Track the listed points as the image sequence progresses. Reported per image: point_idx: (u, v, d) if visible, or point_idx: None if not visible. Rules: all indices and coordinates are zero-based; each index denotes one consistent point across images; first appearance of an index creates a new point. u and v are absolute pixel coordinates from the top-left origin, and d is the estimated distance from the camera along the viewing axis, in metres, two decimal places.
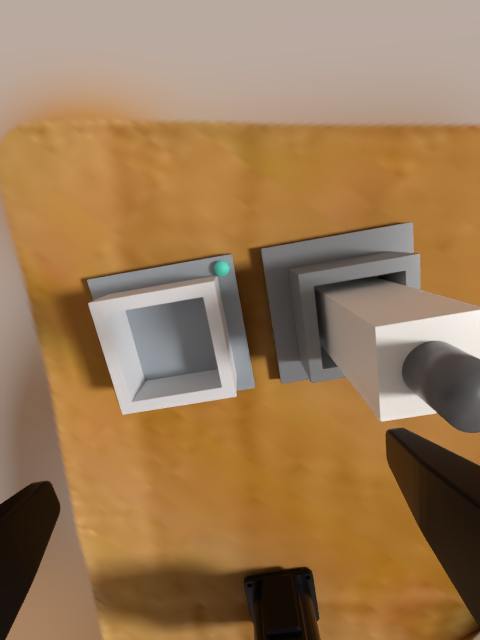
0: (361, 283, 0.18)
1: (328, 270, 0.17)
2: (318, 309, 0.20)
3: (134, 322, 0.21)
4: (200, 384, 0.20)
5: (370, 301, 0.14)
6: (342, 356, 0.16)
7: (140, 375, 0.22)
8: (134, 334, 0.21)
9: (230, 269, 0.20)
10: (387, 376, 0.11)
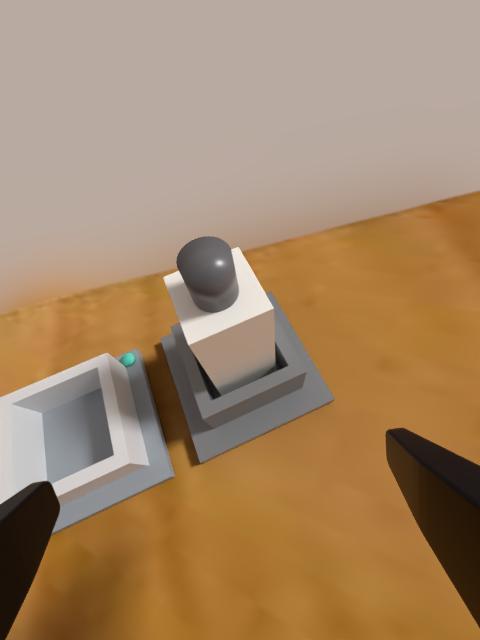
0: None
1: None
2: None
3: (48, 429, 0.22)
4: None
5: None
6: None
7: None
8: (46, 443, 0.21)
9: (136, 359, 0.24)
10: (182, 306, 0.14)
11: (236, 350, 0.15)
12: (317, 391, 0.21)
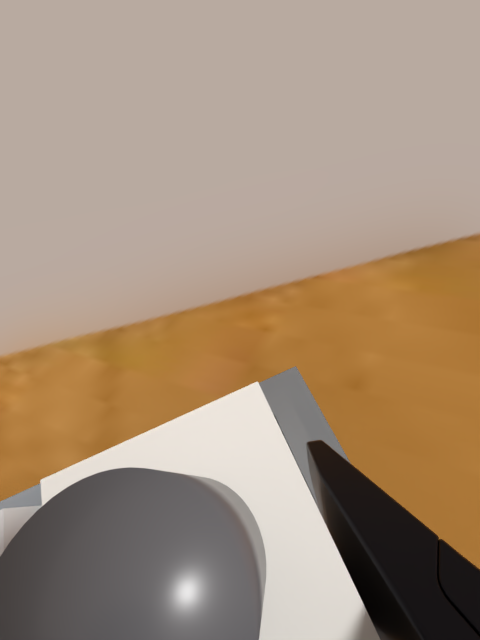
0: None
1: None
2: None
3: None
4: None
5: None
6: None
7: None
8: None
9: None
10: None
11: None
12: None
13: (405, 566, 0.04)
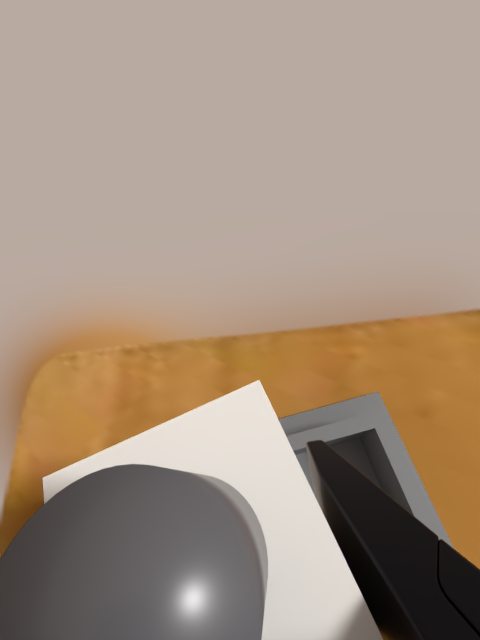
0: None
1: (294, 434, 0.17)
2: None
3: None
4: None
5: None
6: None
7: None
8: None
9: None
10: None
11: None
12: None
13: (406, 566, 0.04)
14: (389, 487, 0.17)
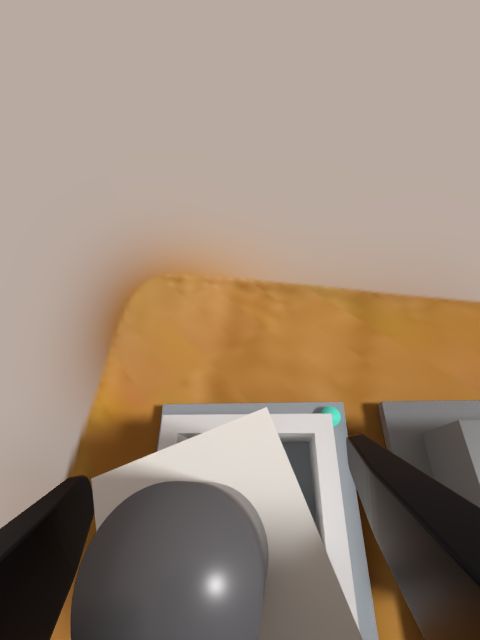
0: None
1: None
2: None
3: None
4: None
5: None
6: None
7: None
8: None
9: (340, 421, 0.16)
10: None
11: None
12: None
13: None
14: None
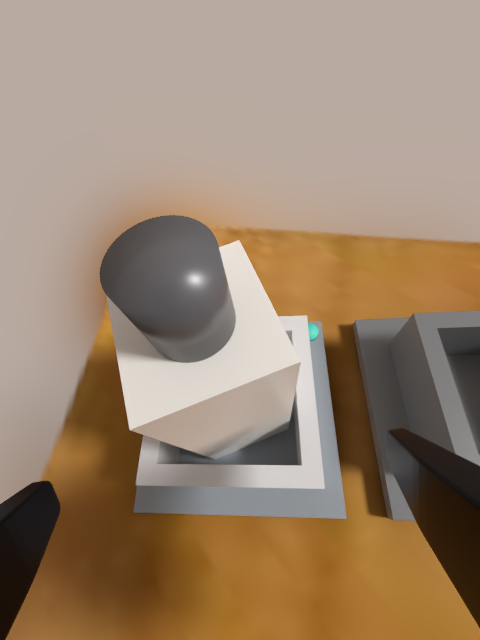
0: None
1: (453, 312, 0.14)
2: None
3: None
4: None
5: None
6: None
7: (176, 450, 0.15)
8: None
9: (318, 336, 0.18)
10: (130, 347, 0.07)
11: (228, 417, 0.09)
12: None
13: None
14: None
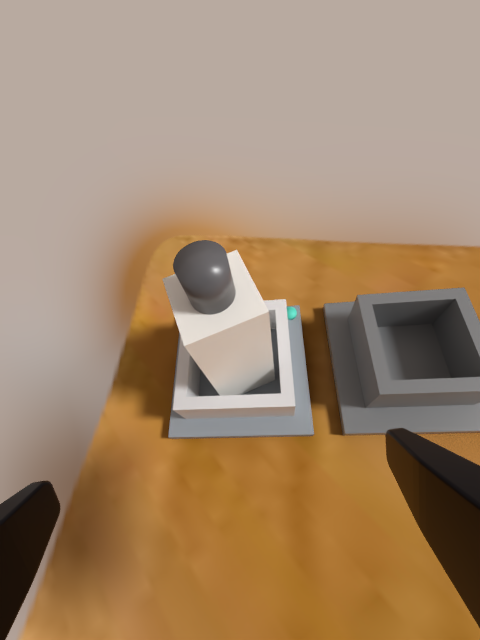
0: None
1: (383, 293, 0.20)
2: None
3: None
4: None
5: None
6: None
7: (196, 395, 0.22)
8: None
9: (297, 316, 0.24)
10: (179, 308, 0.14)
11: (232, 351, 0.15)
12: None
13: None
14: (456, 351, 0.20)
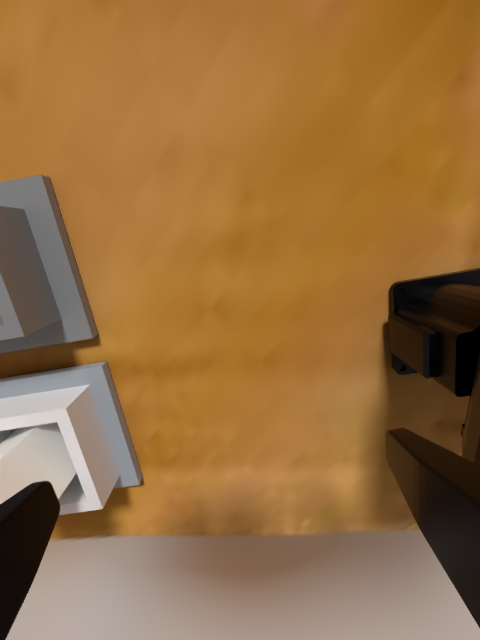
0: None
1: None
2: None
3: None
4: None
5: None
6: None
7: None
8: None
9: None
10: None
11: None
12: (30, 192, 0.17)
13: None
14: None
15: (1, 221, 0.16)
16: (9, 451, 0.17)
